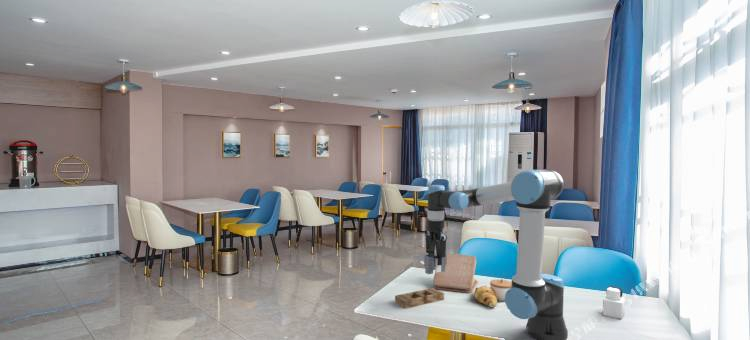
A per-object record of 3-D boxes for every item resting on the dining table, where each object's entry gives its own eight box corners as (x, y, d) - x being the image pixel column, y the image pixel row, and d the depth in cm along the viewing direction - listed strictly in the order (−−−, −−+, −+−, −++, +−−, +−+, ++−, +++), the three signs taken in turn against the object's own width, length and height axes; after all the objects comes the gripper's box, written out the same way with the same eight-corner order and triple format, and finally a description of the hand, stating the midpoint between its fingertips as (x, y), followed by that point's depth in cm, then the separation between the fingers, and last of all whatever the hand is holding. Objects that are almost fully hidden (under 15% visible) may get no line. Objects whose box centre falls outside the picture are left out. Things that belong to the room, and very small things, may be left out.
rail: (432, 294, 217) (432, 287, 217) (444, 299, 209) (444, 293, 209) (395, 302, 206) (395, 295, 206) (405, 308, 198) (405, 301, 198)
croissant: (499, 316, 197) (508, 300, 197) (481, 306, 195) (490, 290, 195) (481, 299, 218) (489, 285, 218) (464, 290, 216) (472, 276, 216)
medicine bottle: (606, 310, 194) (607, 283, 194) (624, 314, 190) (625, 287, 189) (602, 315, 189) (603, 288, 188) (621, 319, 184) (622, 291, 184)
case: (431, 289, 225) (432, 259, 224) (441, 278, 244) (442, 249, 243) (471, 295, 217) (472, 263, 216) (478, 282, 236) (479, 253, 235)
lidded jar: (492, 302, 205) (493, 282, 204) (487, 294, 215) (488, 275, 215) (515, 302, 204) (516, 282, 204) (509, 295, 215) (509, 276, 215)
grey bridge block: (441, 269, 202) (441, 252, 201) (446, 271, 199) (446, 254, 198) (424, 272, 197) (424, 255, 196) (428, 274, 194) (429, 256, 193)
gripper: (454, 221, 191) (453, 274, 192) (431, 216, 205) (430, 265, 207) (440, 223, 187) (440, 276, 189) (418, 217, 201) (417, 267, 203)
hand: (435, 270), depth 198 cm, fingers closed on grey bridge block, 3 cm apart
